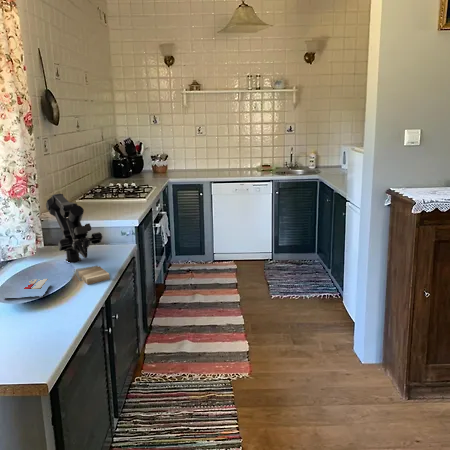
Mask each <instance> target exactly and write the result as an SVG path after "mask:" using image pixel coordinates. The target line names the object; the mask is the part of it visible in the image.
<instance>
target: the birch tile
mask: <svg viewBox="0 0 450 450" xmlns="http://www.w3.org/2000/svg"><path fill="white" fill-rule="evenodd" d="M78 275H79V277H80V278H81V279H82V280H83V281H82V282H84V283H85V284H87V286H88V285H91V284H95V283H100V282H104V281H108V280H110V279H111V278H110V273H109V272H108V271H106V269H104V268H102V267H101V266H98V267H94V268H90V269H85V270H81V271H78Z"/></svg>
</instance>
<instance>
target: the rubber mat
mask: <svg viewBox="0 0 450 450" xmlns="http://www.w3.org/2000/svg"><path fill="white" fill-rule="evenodd" d="M94 267H99V266H98V265H93V266H88V267H82V268H77V269H76V273H75V275H76V277H77V279H78V281H79V282H84V281H83V280H82V279H81V278H80V277H79V275H78V271H81V270H85V269H90V268H94Z"/></svg>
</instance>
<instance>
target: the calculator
mask: <svg viewBox="0 0 450 450" xmlns="http://www.w3.org/2000/svg"><path fill="white" fill-rule="evenodd" d="M42 279H43V280H40V279H38V278H37V279H36V278H35V279H30V280H31V281H29V283H31V284H30V285H28V287H25V288H24V289H41V288H42V286H43V285H44V284H45V282H46V281H47V280H48V279H49V278H42ZM32 280H34V281H32ZM37 280H40V281H38V282H37V283H36V281H37ZM35 283H36V284H35ZM34 284H35V285H36V286H34V287H32V286H33V285H34ZM31 287H32V288H31Z"/></svg>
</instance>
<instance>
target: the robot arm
mask: <svg viewBox="0 0 450 450" xmlns="http://www.w3.org/2000/svg"><path fill="white" fill-rule="evenodd" d="M45 202H46V204H45V208H46V210H47V211H48V213H49V214H50V215H51V216H54V217H55V220H56V221H57V223H58V226H59V228H60V229H61V232H62V238H60V239H59V241H58V244H57V247H58V248H57V249H58V251H59V252H62V251H63V252H65V255H66V258H65V261H68V262H70V263H69V264H71V263H78V262H81V261H82V258H81V257H80V255H81V256H82V257H83V258H84V259H88V247H90V245H91V244H93V245H97V244H100V243H102V239H103V237H104V236H103V233H101V232H100V231H99V232H94V233H93V232H92V233H91V236H89V237H88V233H89V232H91V230H92V226H91V223H85V224H84V225H82V222H81V221H82V220H83V215H84V213H85V212H84V211H85V210H84V208H83V207H82V206H81V205H78V203H75V202H74V201H72V202H70V201H69V200H68V199H67V198H66V197H65V196H64V194H63V193H55V194H52V195H51V197H50V198H48V199H47V200H46V201H45Z"/></svg>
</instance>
